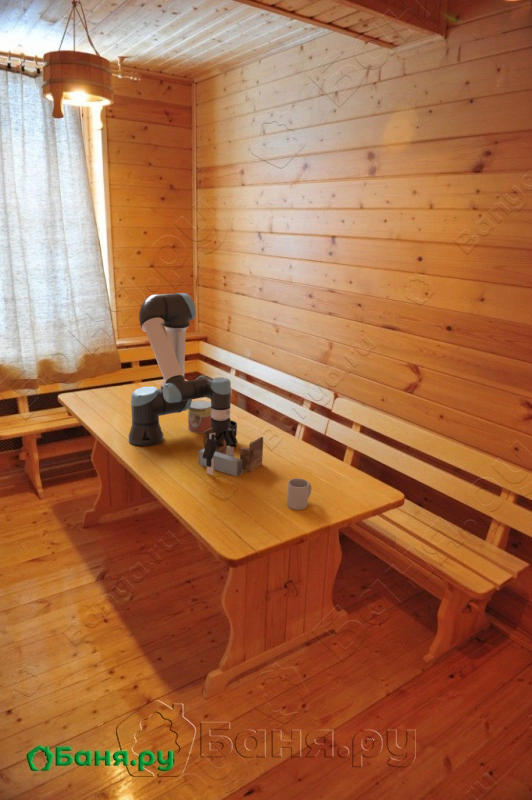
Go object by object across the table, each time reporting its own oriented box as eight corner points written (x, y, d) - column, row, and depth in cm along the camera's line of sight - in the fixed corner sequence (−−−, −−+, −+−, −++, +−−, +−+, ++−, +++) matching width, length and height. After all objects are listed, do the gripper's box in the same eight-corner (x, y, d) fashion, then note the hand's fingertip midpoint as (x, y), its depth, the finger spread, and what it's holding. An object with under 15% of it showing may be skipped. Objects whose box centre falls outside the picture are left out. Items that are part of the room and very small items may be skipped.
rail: (198, 464, 232) (198, 450, 230) (203, 461, 235) (203, 448, 233) (237, 476, 223) (237, 462, 221) (242, 473, 226) (242, 459, 224)
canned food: (183, 430, 266) (183, 406, 263) (195, 422, 276) (195, 399, 273) (205, 434, 263) (205, 410, 259) (216, 426, 273) (216, 402, 269)
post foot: (239, 468, 230) (240, 441, 226) (251, 461, 237) (252, 434, 233) (250, 472, 227) (251, 444, 223) (262, 464, 235) (263, 437, 231)
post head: (204, 457, 238) (204, 431, 234) (216, 450, 246) (216, 424, 242) (213, 460, 236) (213, 434, 232) (226, 453, 243) (226, 427, 239)
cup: (282, 504, 204) (284, 482, 201) (302, 496, 210) (304, 474, 207) (296, 512, 198) (298, 489, 196) (317, 504, 205) (318, 481, 202)
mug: (225, 451, 246) (225, 430, 242) (215, 441, 256) (215, 421, 253) (243, 448, 249) (243, 428, 246) (232, 438, 259) (232, 419, 256)
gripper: (209, 429, 210) (209, 481, 217) (246, 410, 230) (245, 459, 237) (193, 424, 214) (193, 476, 220) (231, 407, 234) (230, 454, 241)
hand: (220, 467), depth 229 cm, fingers open, 13 cm apart
